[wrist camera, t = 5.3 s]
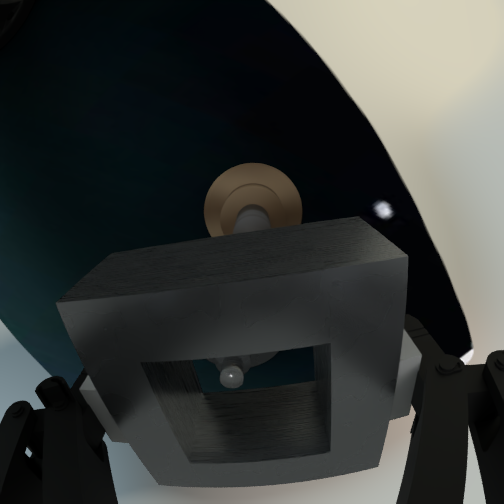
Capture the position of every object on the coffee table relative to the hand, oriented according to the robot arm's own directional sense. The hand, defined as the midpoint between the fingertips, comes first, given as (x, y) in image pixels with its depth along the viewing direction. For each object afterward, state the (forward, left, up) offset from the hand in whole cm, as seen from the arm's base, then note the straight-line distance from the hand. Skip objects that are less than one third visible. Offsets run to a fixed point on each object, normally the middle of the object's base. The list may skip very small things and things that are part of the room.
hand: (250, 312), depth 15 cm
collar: (0, 0, +3) cm, 3 cm away
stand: (-1, 0, -20) cm, 20 cm away
